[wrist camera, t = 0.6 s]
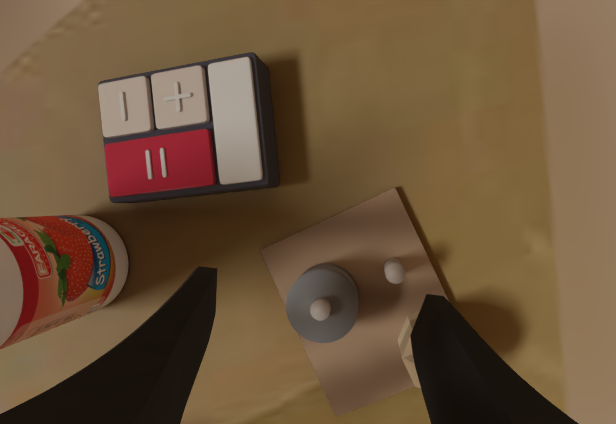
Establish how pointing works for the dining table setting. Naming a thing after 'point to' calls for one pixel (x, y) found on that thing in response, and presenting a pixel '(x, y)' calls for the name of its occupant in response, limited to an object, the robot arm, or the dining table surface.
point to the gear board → (379, 297)
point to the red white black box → (189, 130)
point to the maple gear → (408, 347)
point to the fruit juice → (56, 272)
